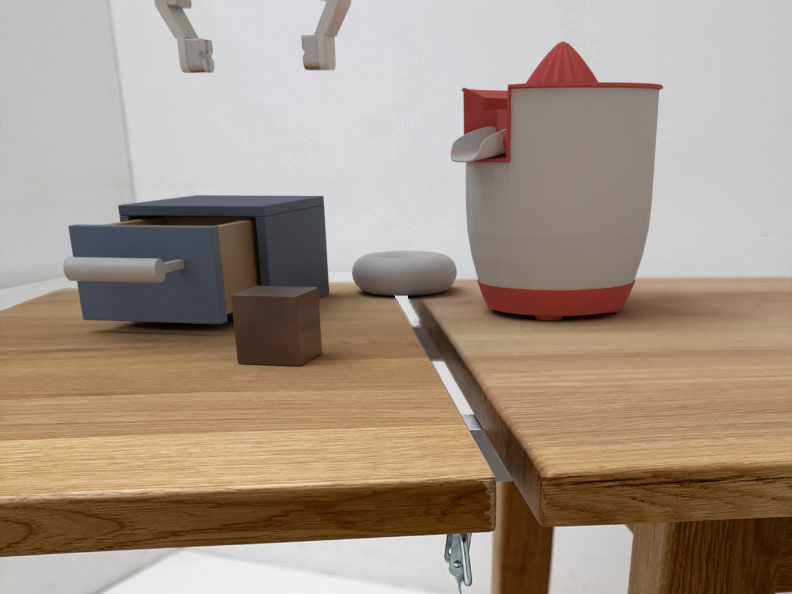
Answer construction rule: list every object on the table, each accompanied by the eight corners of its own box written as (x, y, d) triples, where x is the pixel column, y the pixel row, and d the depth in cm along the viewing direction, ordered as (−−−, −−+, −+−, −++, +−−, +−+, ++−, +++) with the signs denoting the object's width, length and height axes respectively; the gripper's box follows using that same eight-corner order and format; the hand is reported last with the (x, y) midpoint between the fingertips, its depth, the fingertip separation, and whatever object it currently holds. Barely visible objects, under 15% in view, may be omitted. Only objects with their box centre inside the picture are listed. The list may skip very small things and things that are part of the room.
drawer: (192, 336, 72) (180, 233, 69) (45, 331, 74) (28, 231, 71) (286, 298, 88) (279, 213, 85) (164, 295, 90) (153, 212, 87)
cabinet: (272, 318, 84) (263, 206, 80) (132, 314, 86) (117, 204, 83) (329, 293, 97) (323, 195, 93) (206, 290, 99) (195, 195, 96)
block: (237, 363, 67) (230, 294, 66) (262, 351, 71) (256, 285, 69) (300, 366, 67) (295, 296, 65) (322, 353, 70) (318, 286, 69)
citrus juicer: (411, 309, 88) (403, 44, 80) (568, 292, 97) (577, 51, 88) (518, 335, 76) (523, 27, 68) (687, 313, 85) (710, 37, 76)
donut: (371, 284, 104) (337, 296, 95) (370, 248, 102) (336, 257, 93) (467, 287, 101) (442, 299, 93) (467, 250, 100) (441, 259, 91)
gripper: (30, -219, 55) (73, 72, 61) (397, -249, 51) (406, 65, 57) (92, -186, 61) (126, 77, 66) (427, -212, 57) (432, 70, 63)
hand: (258, 71), depth 62 cm, fingers open, 6 cm apart
